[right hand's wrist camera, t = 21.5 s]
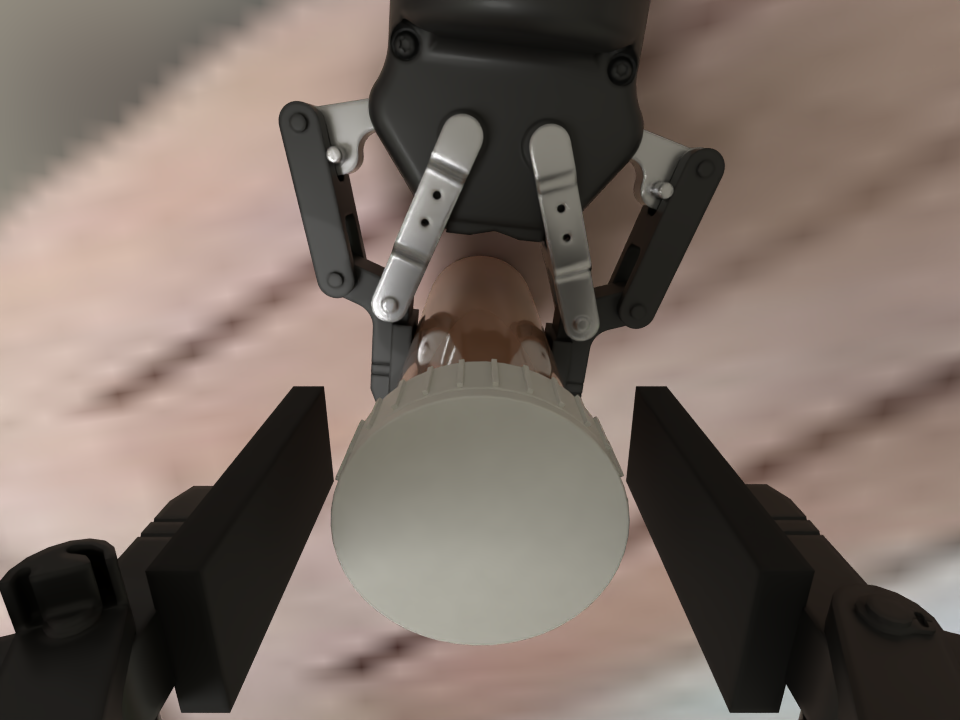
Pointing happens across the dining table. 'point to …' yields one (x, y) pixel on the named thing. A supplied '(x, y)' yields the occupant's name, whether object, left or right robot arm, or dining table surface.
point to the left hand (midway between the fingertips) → (473, 415)
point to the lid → (480, 505)
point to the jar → (480, 321)
